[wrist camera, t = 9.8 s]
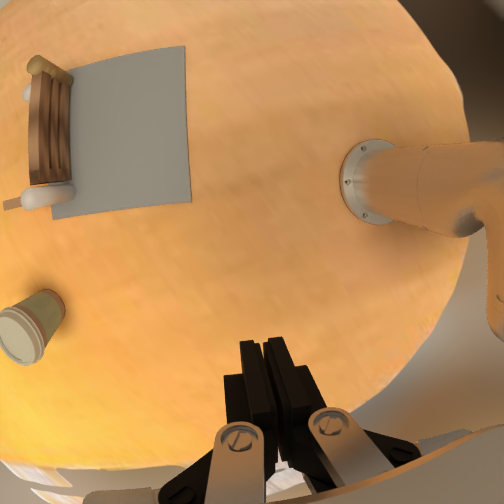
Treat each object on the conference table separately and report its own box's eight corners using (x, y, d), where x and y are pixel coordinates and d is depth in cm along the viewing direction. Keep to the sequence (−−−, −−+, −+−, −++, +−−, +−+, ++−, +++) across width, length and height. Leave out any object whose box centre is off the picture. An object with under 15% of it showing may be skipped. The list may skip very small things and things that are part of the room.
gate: (72, 179, 33) (38, 182, 25) (59, 182, 33) (23, 186, 24) (73, 72, 29) (43, 52, 20) (59, 76, 29) (27, 58, 20)
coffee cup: (25, 283, 37) (-16, 314, 25) (63, 278, 37) (22, 311, 26) (41, 330, 39) (7, 367, 27) (79, 328, 40) (48, 370, 28)
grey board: (184, 46, 32) (176, 7, 21) (191, 201, 37) (182, 211, 27) (34, 84, 29) (-7, 67, 19) (37, 222, 35) (-7, 238, 24)
